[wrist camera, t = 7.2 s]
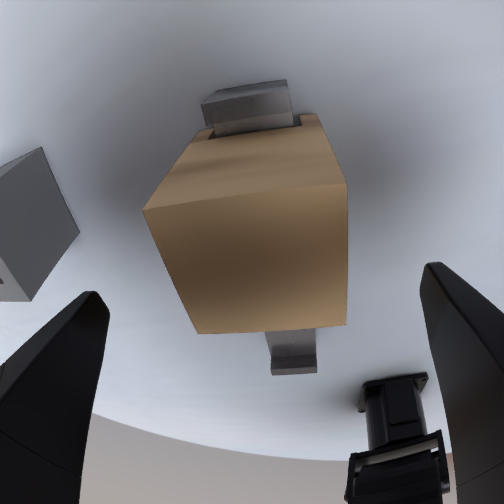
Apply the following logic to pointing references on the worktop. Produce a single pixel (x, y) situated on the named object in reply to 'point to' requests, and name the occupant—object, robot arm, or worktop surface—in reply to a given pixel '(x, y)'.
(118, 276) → the worktop surface
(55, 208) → the grey button housing
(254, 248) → the block
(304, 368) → the rail
